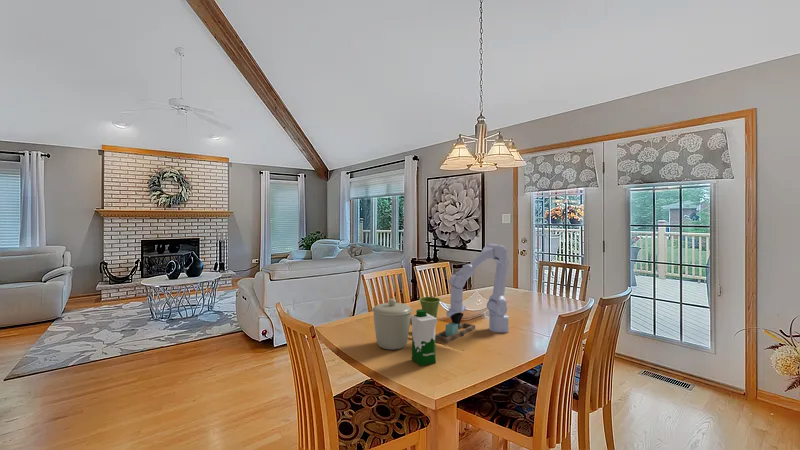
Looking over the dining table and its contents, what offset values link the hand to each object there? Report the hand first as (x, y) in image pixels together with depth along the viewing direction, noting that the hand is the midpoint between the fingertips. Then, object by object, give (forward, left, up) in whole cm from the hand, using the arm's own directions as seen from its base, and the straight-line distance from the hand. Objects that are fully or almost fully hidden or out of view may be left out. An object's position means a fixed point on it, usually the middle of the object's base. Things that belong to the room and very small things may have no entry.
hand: (456, 328), depth 175 cm
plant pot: (+17, -24, -4) cm, 29 cm away
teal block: (+2, +4, -3) cm, 5 cm away
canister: (+26, +20, -4) cm, 33 cm away
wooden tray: (0, 0, -4) cm, 4 cm away
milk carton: (+9, +33, -4) cm, 35 cm away
